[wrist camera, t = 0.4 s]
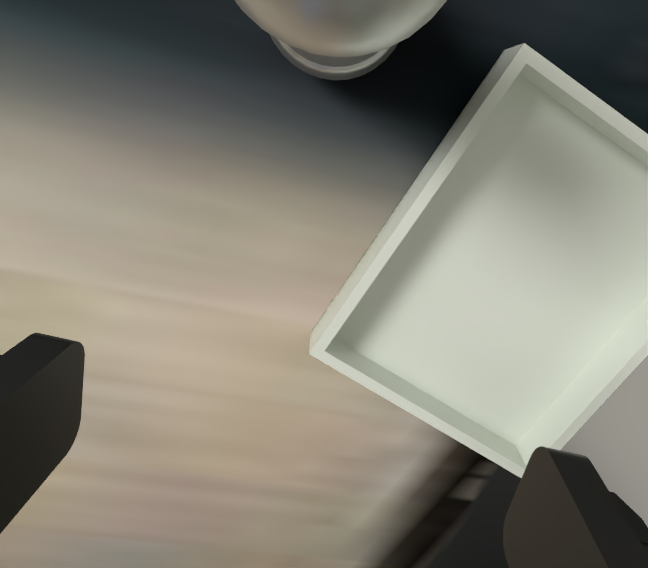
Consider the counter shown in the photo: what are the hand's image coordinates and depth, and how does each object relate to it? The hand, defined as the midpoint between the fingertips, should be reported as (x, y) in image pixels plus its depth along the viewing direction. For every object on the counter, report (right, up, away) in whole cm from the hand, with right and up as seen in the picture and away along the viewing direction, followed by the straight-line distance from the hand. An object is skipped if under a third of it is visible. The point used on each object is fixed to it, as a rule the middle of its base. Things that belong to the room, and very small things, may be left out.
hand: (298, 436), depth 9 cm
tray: (+11, +3, +21) cm, 24 cm away
